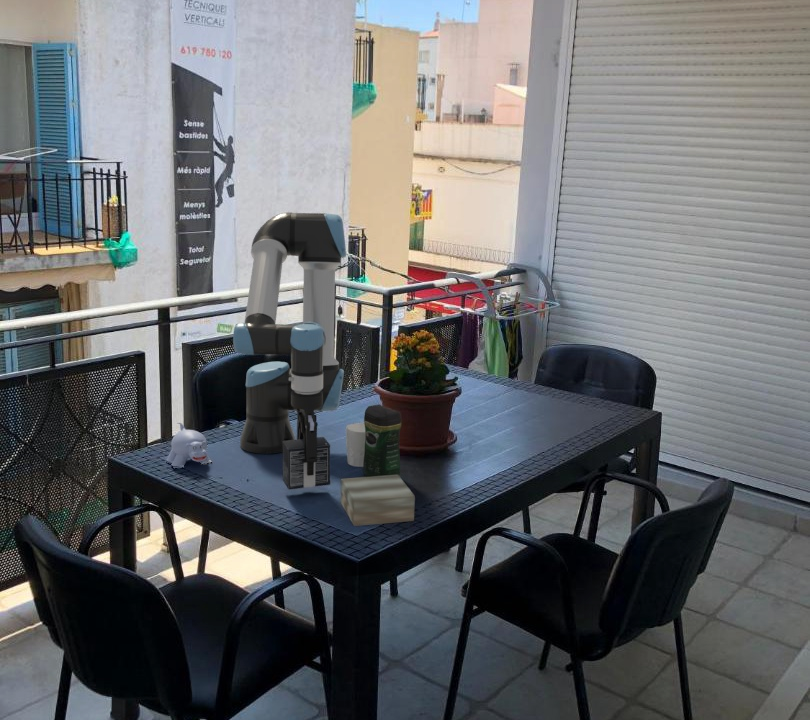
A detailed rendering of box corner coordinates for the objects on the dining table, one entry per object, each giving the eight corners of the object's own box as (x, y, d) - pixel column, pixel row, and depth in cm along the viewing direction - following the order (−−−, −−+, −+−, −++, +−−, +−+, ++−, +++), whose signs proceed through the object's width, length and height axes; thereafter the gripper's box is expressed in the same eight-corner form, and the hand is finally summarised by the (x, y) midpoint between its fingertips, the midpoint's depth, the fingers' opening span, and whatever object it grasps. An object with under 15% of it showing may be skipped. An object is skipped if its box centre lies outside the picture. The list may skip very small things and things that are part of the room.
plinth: (340, 502, 221) (341, 478, 220) (397, 497, 225) (397, 474, 224) (354, 526, 208) (354, 500, 207) (413, 520, 212) (414, 496, 211)
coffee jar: (405, 478, 238) (407, 409, 234) (381, 485, 233) (382, 414, 229) (381, 468, 245) (383, 400, 241) (357, 474, 240) (359, 405, 236)
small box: (323, 475, 230) (324, 435, 228) (331, 485, 225) (331, 444, 222) (281, 479, 227) (281, 439, 224) (288, 490, 221) (288, 449, 218)
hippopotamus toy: (180, 476, 235) (179, 441, 233) (161, 459, 247) (160, 424, 245) (221, 469, 241) (220, 434, 238) (200, 452, 253) (199, 419, 251)
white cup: (378, 459, 251) (379, 424, 249) (369, 469, 244) (370, 433, 241) (350, 456, 253) (351, 421, 251) (341, 465, 246) (341, 429, 243)
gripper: (284, 379, 228) (284, 467, 234) (298, 403, 210) (298, 497, 215) (314, 378, 230) (314, 465, 236) (330, 401, 212) (330, 495, 218)
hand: (306, 480), depth 225 cm, fingers closed on small box, 6 cm apart
